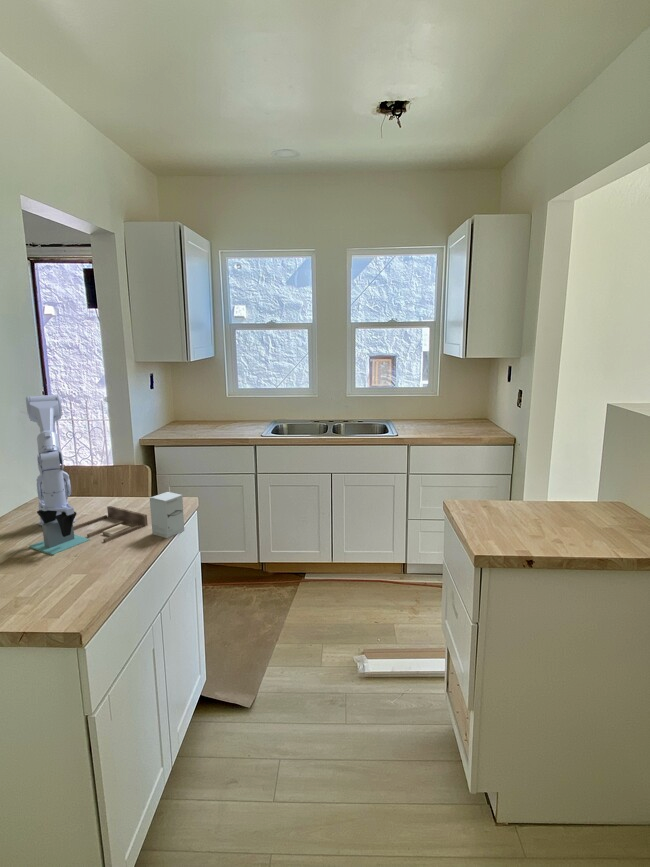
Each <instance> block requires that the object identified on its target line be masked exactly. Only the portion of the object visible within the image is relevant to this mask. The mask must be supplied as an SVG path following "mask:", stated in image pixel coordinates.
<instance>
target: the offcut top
mask: <svg viewBox="0 0 650 867" xmlns="http://www.w3.org/2000/svg"><path fill="white" fill-rule="evenodd" d="M130 528H131V526H129V525H126V524H123V525H122V524H120V525H117V526H115V527H112V528H110V529H107V530H105V531H103V533H102V534H104V536H108V537H110V536H112V535H115V534H117V533H120V532H122V531H125V530H127V529H130Z"/></svg>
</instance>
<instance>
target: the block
mask: <svg viewBox="0 0 650 867" xmlns="http://www.w3.org/2000/svg"><path fill="white" fill-rule="evenodd" d="M73 527H74V523H73V524H72V529H71V534H70V535H68V536H66V537H63V536H62V533H61V529H60V525H59V523H58V521H57V520H55V521H52V522H49V523H46V524H43V525H41V528H42V537H43V541H44V545H45V547H47V548H52V547H54V546H57V545H59V544H62V543H65V542H67V541H70V540H73V539H74V535H75V530H73Z"/></svg>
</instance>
